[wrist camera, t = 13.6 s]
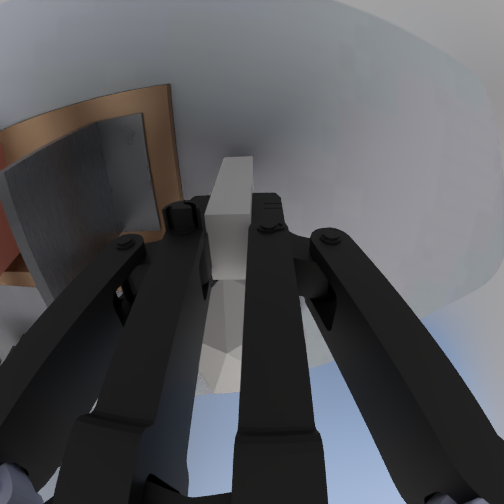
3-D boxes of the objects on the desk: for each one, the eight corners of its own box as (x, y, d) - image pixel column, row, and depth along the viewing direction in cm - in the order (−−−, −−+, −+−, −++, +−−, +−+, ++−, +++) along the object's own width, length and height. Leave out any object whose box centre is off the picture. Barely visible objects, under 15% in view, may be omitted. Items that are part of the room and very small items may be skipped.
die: (210, 332, 28) (273, 413, 23) (139, 316, 21) (207, 431, 15) (268, 266, 28) (346, 343, 22) (209, 228, 20) (310, 335, 15)
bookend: (113, 230, 20) (55, 321, 13) (89, 122, 16) (-7, 175, 8) (161, 228, 20) (116, 327, 13) (142, 112, 16) (56, 158, 8)
